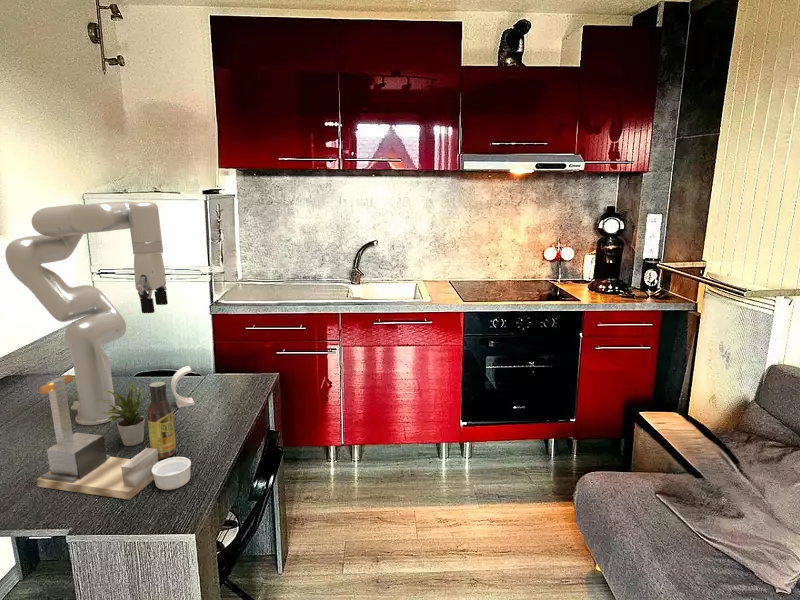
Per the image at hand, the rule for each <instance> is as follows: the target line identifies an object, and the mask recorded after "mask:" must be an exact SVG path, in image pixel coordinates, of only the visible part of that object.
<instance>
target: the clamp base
mask: <svg viewBox="0 0 800 600" xmlns="http://www.w3.org/2000/svg"><path fill="white" fill-rule="evenodd" d="M106 455H107V460H106V461H105V462H103V463H102V464H100V465H99V466H97V467H96V468H95V469H93V470H92V471H90V472H89V473H87V474H86V475H85V476H83V477H82V478H80V479H79V478H75V477H68V476H60V475H53V474H51V472H50V470H48V471H47V472H45V473H43V474H41V475H40V476H39V477H38V478H36V485H37V487H38V488H45V489H51V490H52V489H53V490H59V491H66V492H71V493H72V492H73V493H79V494H80V493H81V494H88V495H96V496H100V497H101V496H102V497H108V498H117V499H122V500H131V499H132V498H135V496H136V495H138V493H140V492H141V491H142V490H143V489H145V488H146V487H147V486H149V484H151V483H152V482H153V481H155V480H154V476H153V474H152V467H153V466H154V465H155V464H156V463H158V462H160V461H159V458H158V452H157V449H152V448H149V447H145V448H144V449H143V450H141V451H140V452H139V453H137V454H136V455H135V456H134V457H131V459H130V458H124V457H116V456H110V454H106Z"/></svg>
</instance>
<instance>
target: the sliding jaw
mask: <svg viewBox="0 0 800 600" xmlns="http://www.w3.org/2000/svg"><path fill="white" fill-rule="evenodd" d="M73 380H74V378H73V376H72V375H71V374H66V375H64V376H61V377H55V378H54V379H52V380H49V381H47V382H46V383H45V384H44V385H42V386H39V388H38V392H39V393H40V394H41V395H42V396H43V395H47V394H48V397H49V403H50V409H51V410H50V411H51V417H52V422H53V429H54V434H55V440H56V444H53V445H52V446H50V447H49V448H47V449H46V452H47V458H48V459H47V461H48V466H49V471H50V472H51V474H53V475H60V476H68V477H75V478H79V479H80V478H82V477H83V476H85V475H86V474H87V473H89V472H90V471H92V470H93V469H95V468H96V467H97V466H99V465H100V464H102V463H103V462H105V461H106V460H107V455H108V454H107V448H106V444H105V443H106V441H105V435H101V434H91V433H82V432H74V433H73V429H72V428H73V427H72V421H71V414H70V413H71V412H70V408H69V402H68V401H69V400H68V395H67V388H66V385H68V384H70V383H72V382H73Z"/></svg>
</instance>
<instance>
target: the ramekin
mask: <svg viewBox="0 0 800 600" xmlns="http://www.w3.org/2000/svg"><path fill="white" fill-rule="evenodd" d="M191 465H192V461H191V459H189V458H187V457H184V456H173V457H166V458H163V460H160V461H159V462H158V463H156V464H155V465H154V466H153V467H152V474H153V476H154V480H153V481H154V485H155V486H156V487H157V488H158V489H161V490H162V491H163V490H165V491H171V490H175V489H178V488H181V487H183V486H184V485H186V484H187V483H188V482H189V481H190V479H191Z"/></svg>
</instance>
